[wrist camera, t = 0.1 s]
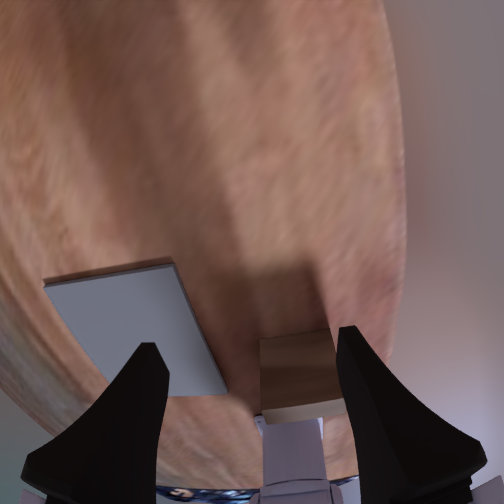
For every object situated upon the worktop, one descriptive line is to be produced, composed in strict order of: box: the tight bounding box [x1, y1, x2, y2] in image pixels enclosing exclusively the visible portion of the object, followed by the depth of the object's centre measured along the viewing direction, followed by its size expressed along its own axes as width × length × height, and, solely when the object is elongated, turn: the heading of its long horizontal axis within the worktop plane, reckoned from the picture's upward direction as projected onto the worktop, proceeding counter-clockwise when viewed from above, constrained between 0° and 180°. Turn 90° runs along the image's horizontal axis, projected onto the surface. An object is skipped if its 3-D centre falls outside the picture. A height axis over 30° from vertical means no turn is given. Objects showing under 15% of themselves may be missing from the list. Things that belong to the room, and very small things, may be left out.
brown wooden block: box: [259, 328, 346, 425], centre depth 23 cm, size 3×6×7 cm, turn 101°
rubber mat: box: [43, 263, 228, 396], centre depth 26 cm, size 16×13×1 cm
